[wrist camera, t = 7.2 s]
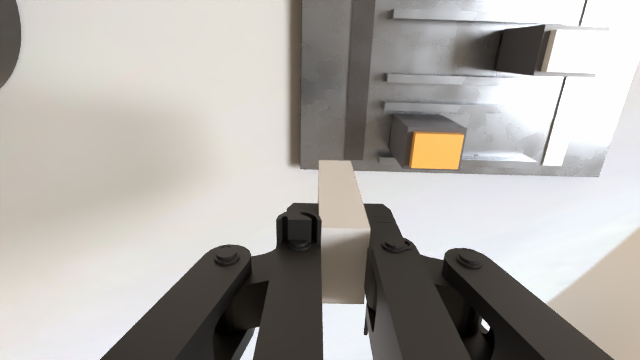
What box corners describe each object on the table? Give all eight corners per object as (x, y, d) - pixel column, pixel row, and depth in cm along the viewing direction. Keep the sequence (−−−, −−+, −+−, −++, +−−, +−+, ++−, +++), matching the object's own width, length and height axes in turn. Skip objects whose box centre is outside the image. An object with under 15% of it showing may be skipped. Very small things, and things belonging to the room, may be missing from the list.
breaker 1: (388, 149, 29) (404, 172, 24) (392, 113, 28) (410, 128, 22) (436, 151, 29) (462, 173, 24) (442, 115, 28) (471, 130, 23)
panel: (300, 165, 30) (299, 173, 28) (304, -115, 23) (302, -130, 21) (589, 173, 31) (609, 182, 29) (679, -99, 24) (714, -113, 22)
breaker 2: (495, 71, 27) (539, 76, 21) (504, 28, 25) (552, 23, 20) (546, 72, 27) (602, 78, 21) (557, 30, 26) (618, 26, 20)
